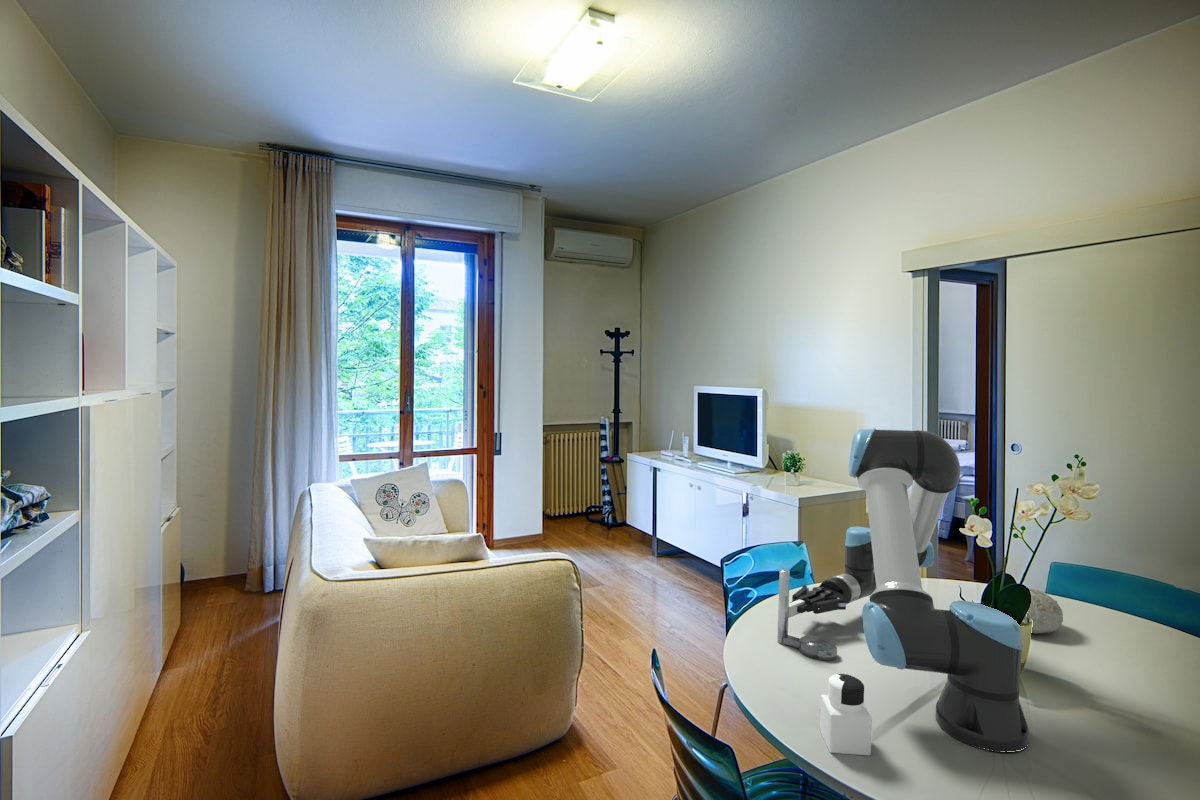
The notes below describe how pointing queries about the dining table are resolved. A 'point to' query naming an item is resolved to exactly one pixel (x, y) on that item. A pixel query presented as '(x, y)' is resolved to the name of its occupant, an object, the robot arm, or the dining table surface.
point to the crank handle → (806, 644)
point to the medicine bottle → (845, 717)
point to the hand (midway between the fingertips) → (786, 611)
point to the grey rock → (1044, 612)
